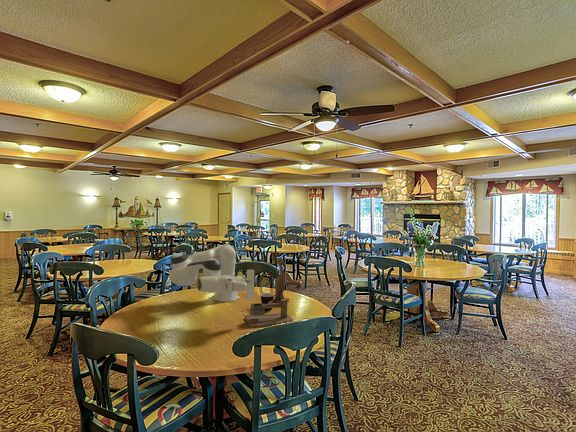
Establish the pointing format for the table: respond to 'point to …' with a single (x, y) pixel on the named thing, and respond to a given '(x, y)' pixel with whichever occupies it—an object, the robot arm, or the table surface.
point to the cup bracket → (267, 315)
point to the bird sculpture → (280, 283)
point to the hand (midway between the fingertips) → (252, 282)
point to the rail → (250, 288)
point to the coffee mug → (267, 299)
